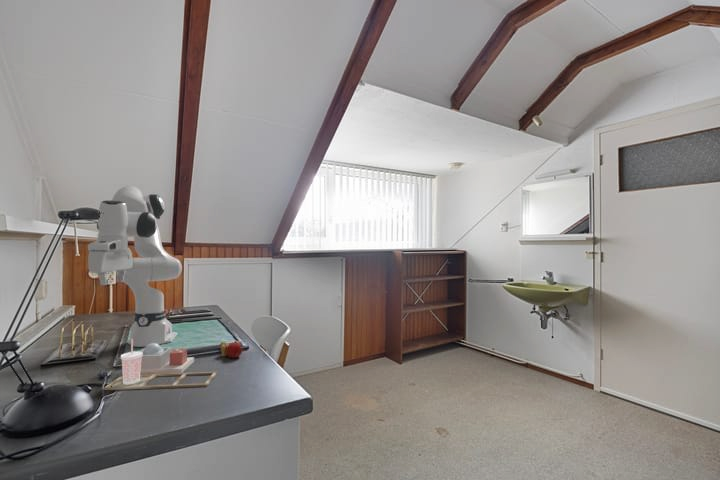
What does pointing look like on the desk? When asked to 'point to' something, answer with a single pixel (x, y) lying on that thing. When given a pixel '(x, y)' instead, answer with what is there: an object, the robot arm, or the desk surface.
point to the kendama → (231, 349)
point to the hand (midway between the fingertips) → (112, 283)
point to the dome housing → (166, 361)
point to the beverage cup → (131, 366)
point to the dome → (153, 349)
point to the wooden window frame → (148, 377)
